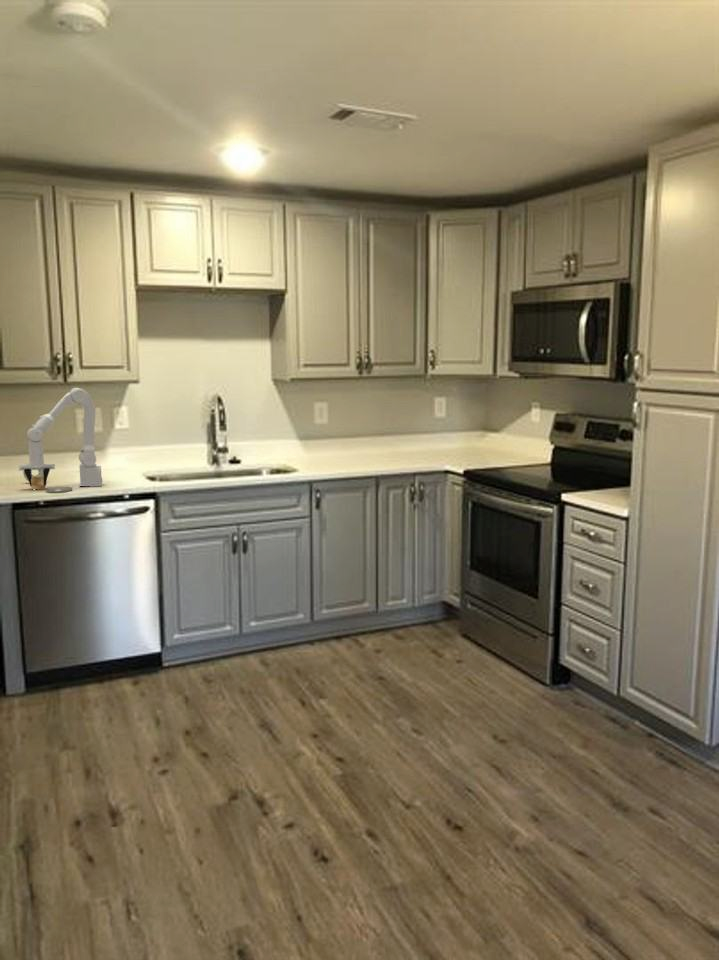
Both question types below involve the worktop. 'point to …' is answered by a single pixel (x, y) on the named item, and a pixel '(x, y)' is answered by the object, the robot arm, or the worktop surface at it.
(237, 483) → the worktop surface
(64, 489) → the plate
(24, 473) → the donut
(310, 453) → the worktop surface
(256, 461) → the worktop surface
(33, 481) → the cube
